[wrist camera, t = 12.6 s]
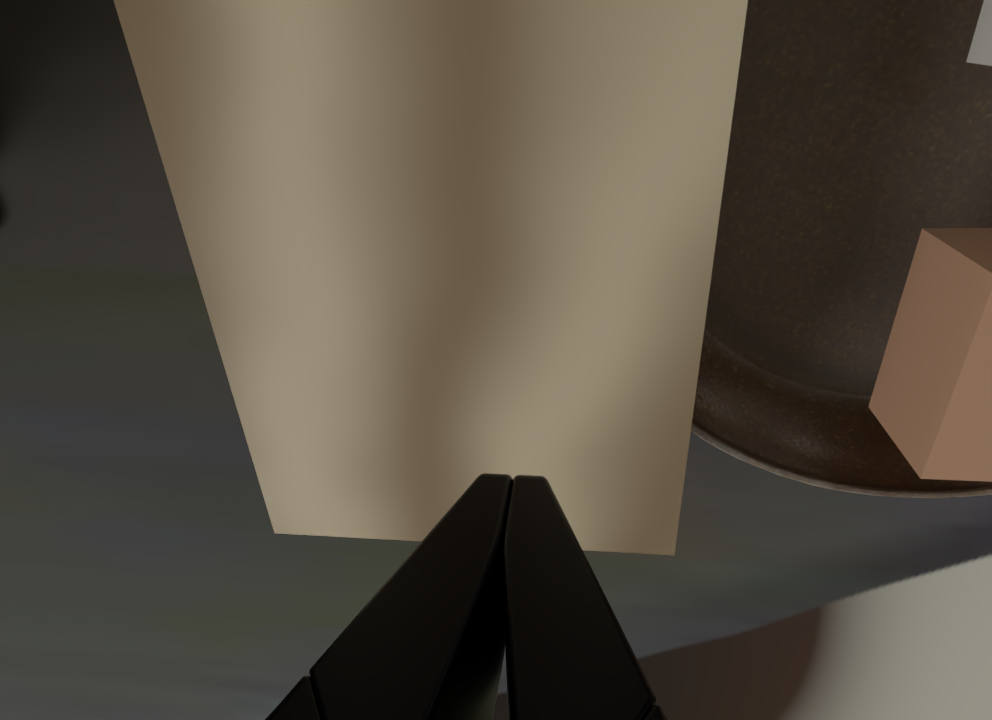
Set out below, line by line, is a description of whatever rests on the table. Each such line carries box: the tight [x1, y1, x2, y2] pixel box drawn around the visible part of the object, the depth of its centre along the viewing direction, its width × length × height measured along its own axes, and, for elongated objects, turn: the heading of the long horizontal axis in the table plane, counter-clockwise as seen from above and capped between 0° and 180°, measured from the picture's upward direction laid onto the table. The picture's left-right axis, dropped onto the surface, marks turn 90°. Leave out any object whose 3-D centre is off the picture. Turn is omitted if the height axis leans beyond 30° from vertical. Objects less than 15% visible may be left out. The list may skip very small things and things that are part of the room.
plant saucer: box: [691, 0, 992, 498], centre depth 15 cm, size 21×21×3 cm
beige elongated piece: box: [114, 0, 748, 555], centre depth 15 cm, size 11×20×6 cm, turn 3°
